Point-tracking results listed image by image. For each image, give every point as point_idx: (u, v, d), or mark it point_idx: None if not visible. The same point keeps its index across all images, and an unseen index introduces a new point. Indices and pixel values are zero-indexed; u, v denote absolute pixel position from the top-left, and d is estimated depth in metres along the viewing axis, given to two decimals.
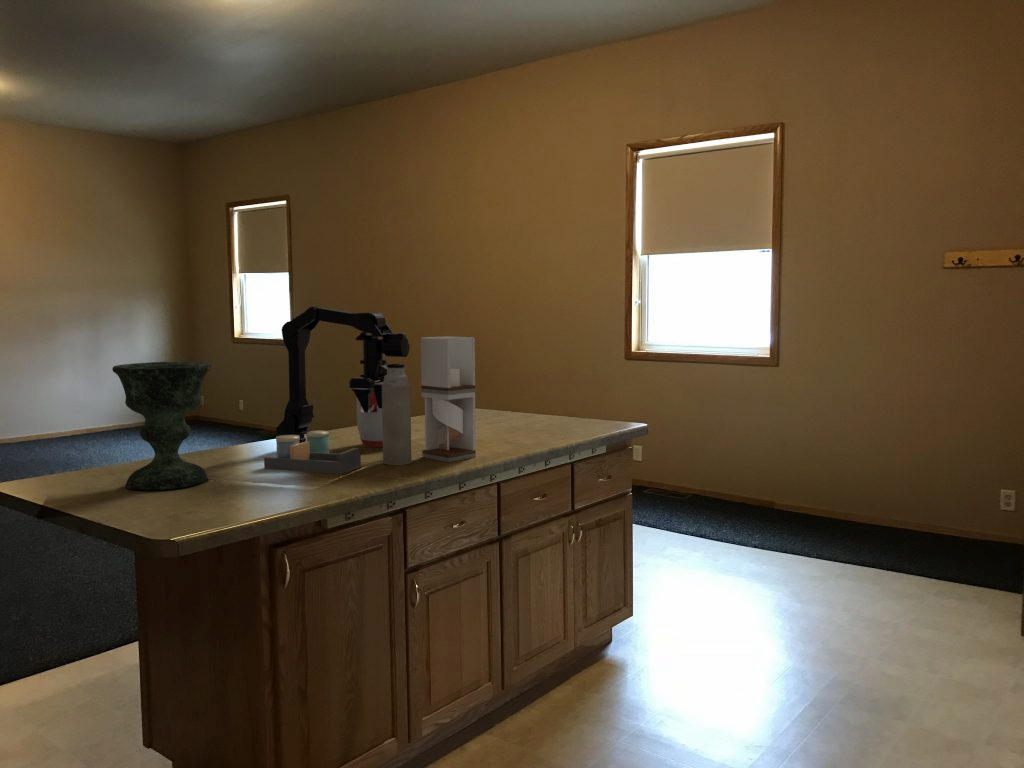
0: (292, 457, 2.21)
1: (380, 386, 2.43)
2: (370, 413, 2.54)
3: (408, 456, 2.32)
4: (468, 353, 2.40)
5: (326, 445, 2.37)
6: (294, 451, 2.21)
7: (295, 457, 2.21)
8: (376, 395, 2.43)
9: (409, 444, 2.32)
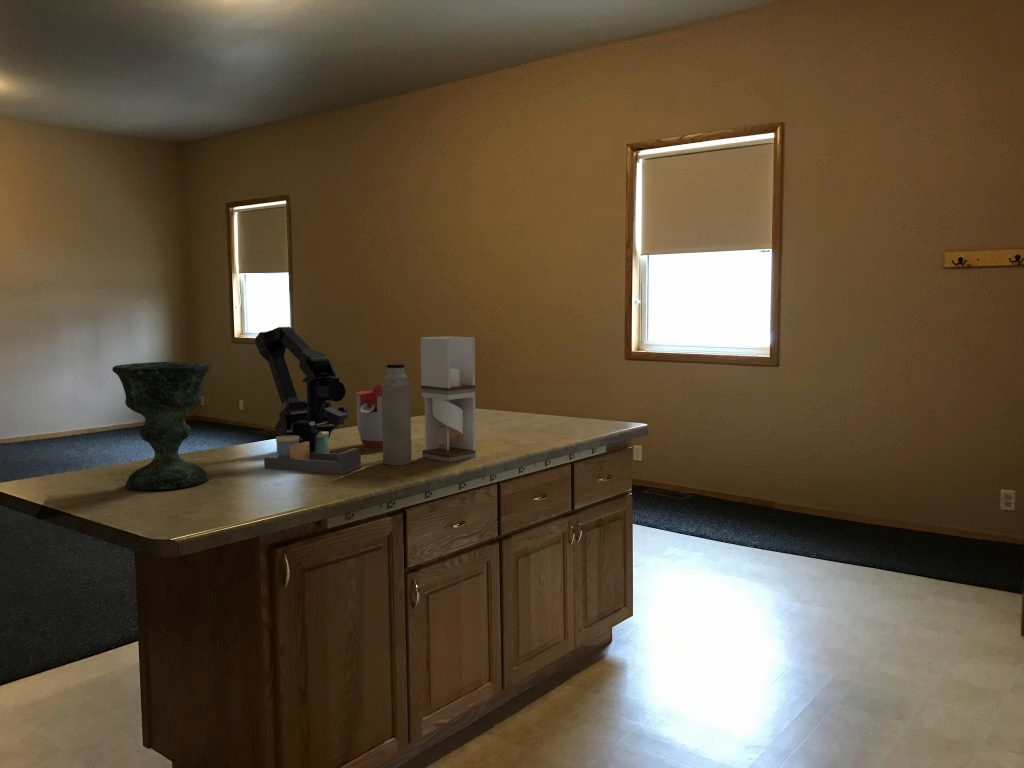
0: (292, 457, 2.21)
1: (323, 428, 2.42)
2: (370, 413, 2.54)
3: (408, 456, 2.32)
4: (468, 353, 2.40)
5: (326, 445, 2.37)
6: (294, 451, 2.21)
7: (295, 457, 2.21)
8: None
9: (409, 444, 2.32)
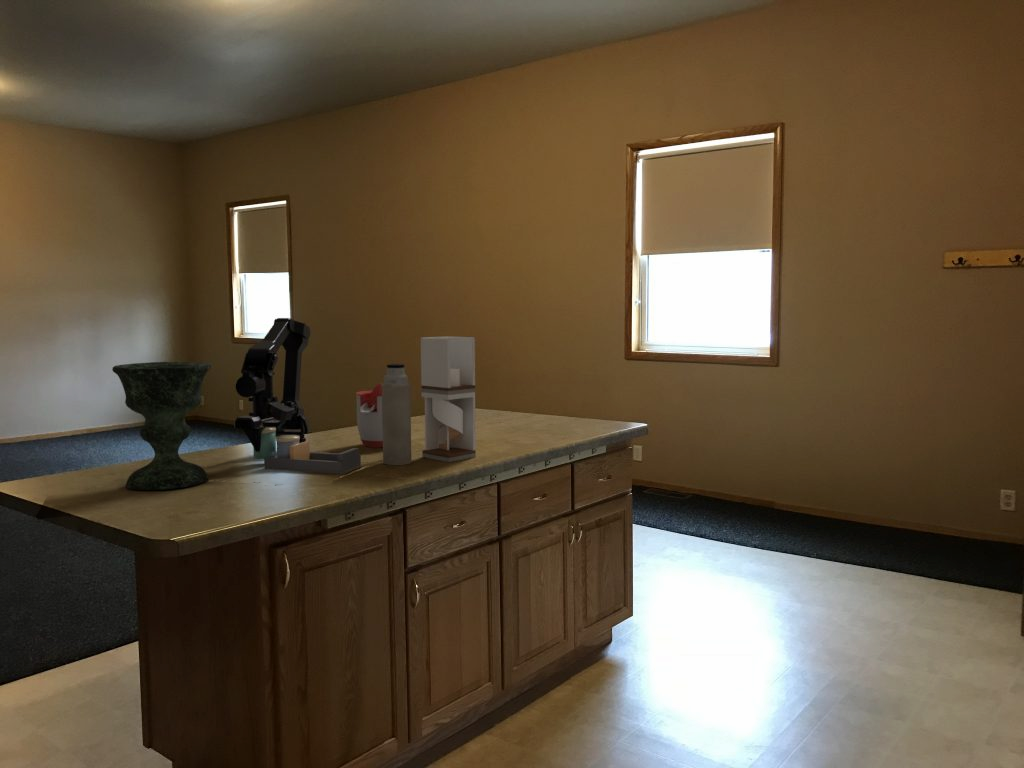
0: (292, 457, 2.21)
1: (270, 424, 2.30)
2: (370, 413, 2.54)
3: (408, 456, 2.32)
4: (468, 353, 2.40)
5: (273, 442, 2.26)
6: (294, 451, 2.21)
7: (295, 457, 2.21)
8: None
9: (409, 444, 2.32)
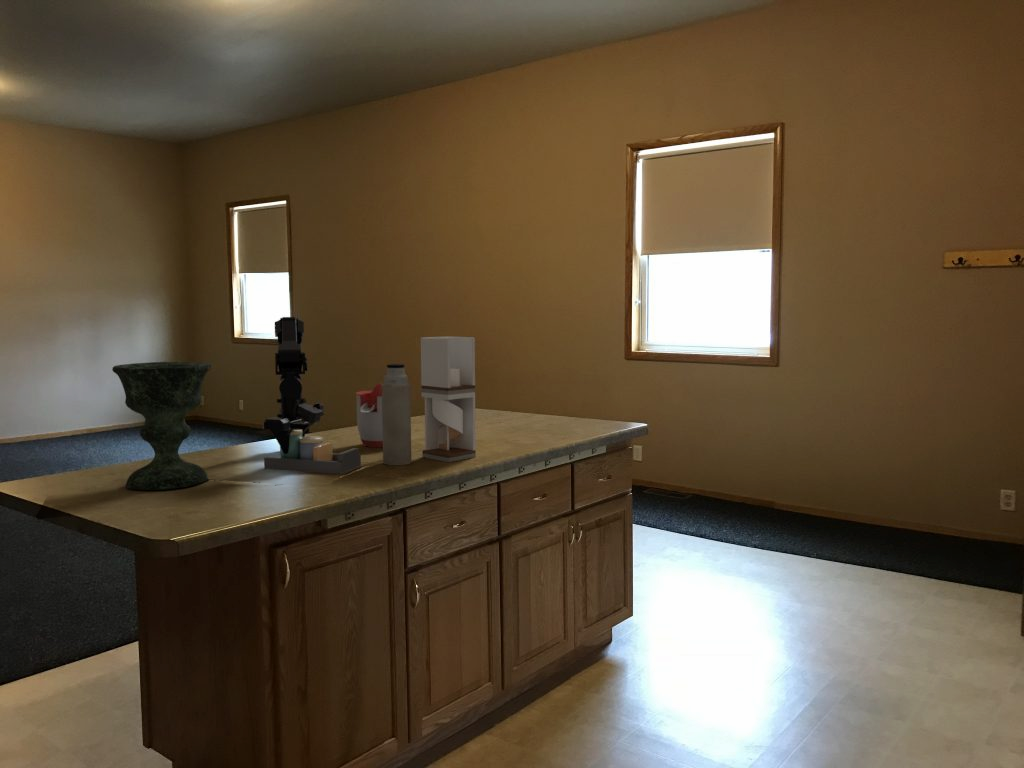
0: (316, 458, 2.18)
1: (298, 426, 2.28)
2: (370, 413, 2.54)
3: (408, 456, 2.32)
4: (468, 353, 2.40)
5: None
6: (318, 452, 2.19)
7: (318, 458, 2.19)
8: None
9: (409, 444, 2.32)
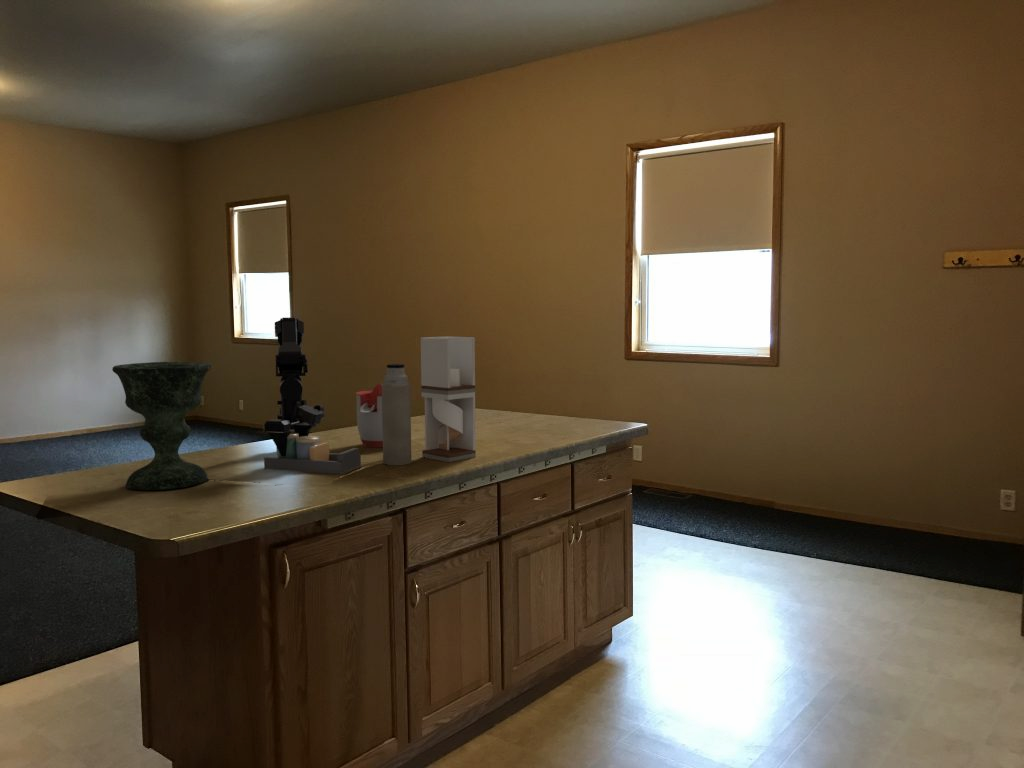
0: (312, 458, 2.19)
1: (301, 427, 2.29)
2: (370, 413, 2.54)
3: (408, 456, 2.32)
4: (468, 353, 2.40)
5: None
6: (314, 452, 2.19)
7: (315, 458, 2.19)
8: None
9: (409, 444, 2.32)
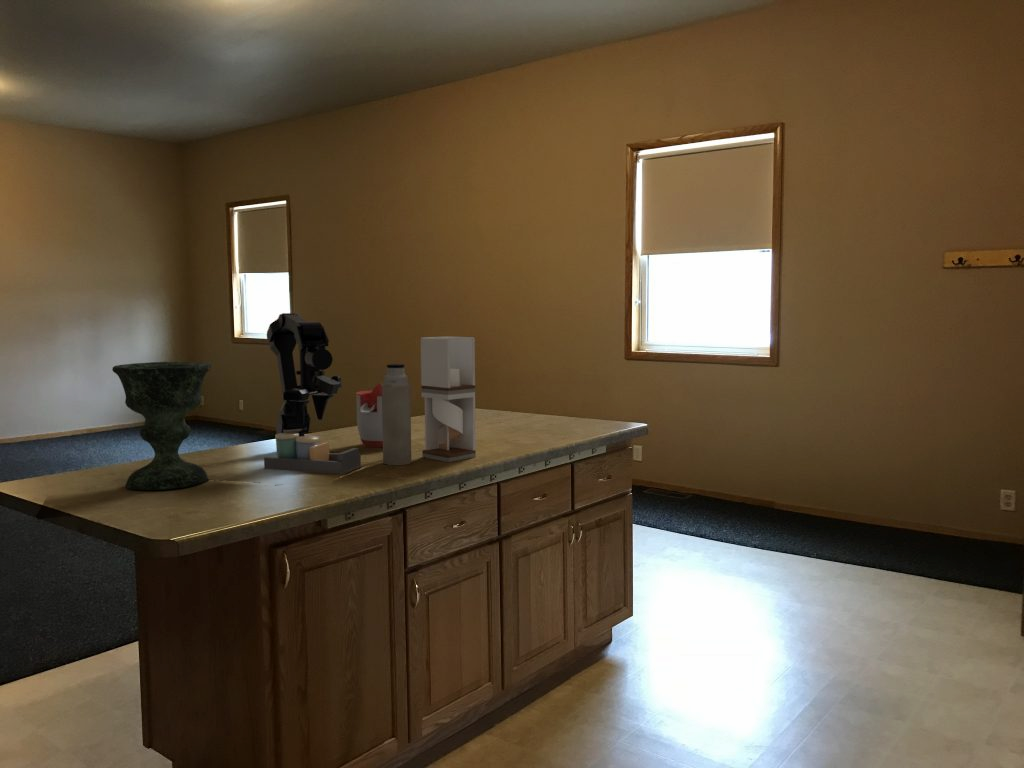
0: (312, 458, 2.19)
1: (319, 397, 2.37)
2: (370, 413, 2.54)
3: (408, 456, 2.32)
4: (468, 353, 2.40)
5: None
6: (314, 452, 2.19)
7: (315, 458, 2.19)
8: (315, 406, 2.37)
9: (409, 444, 2.32)
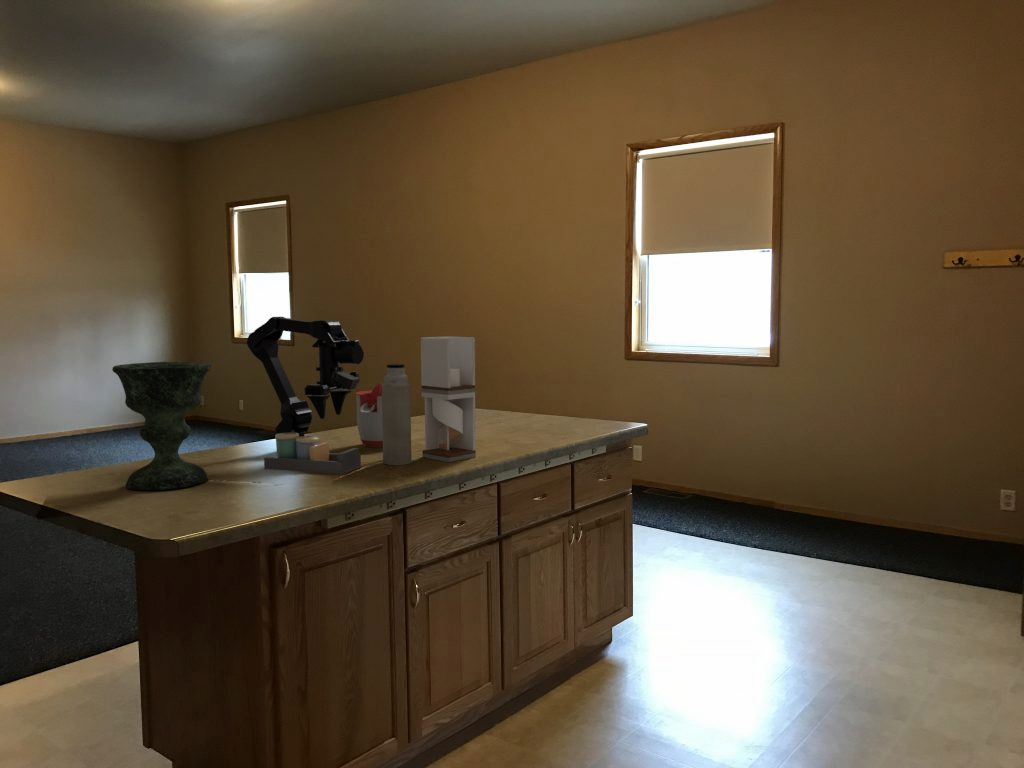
0: (312, 458, 2.19)
1: (337, 393, 2.45)
2: (370, 413, 2.54)
3: (408, 456, 2.32)
4: (468, 353, 2.40)
5: None
6: (314, 452, 2.19)
7: (315, 458, 2.19)
8: (334, 401, 2.45)
9: (409, 444, 2.32)
